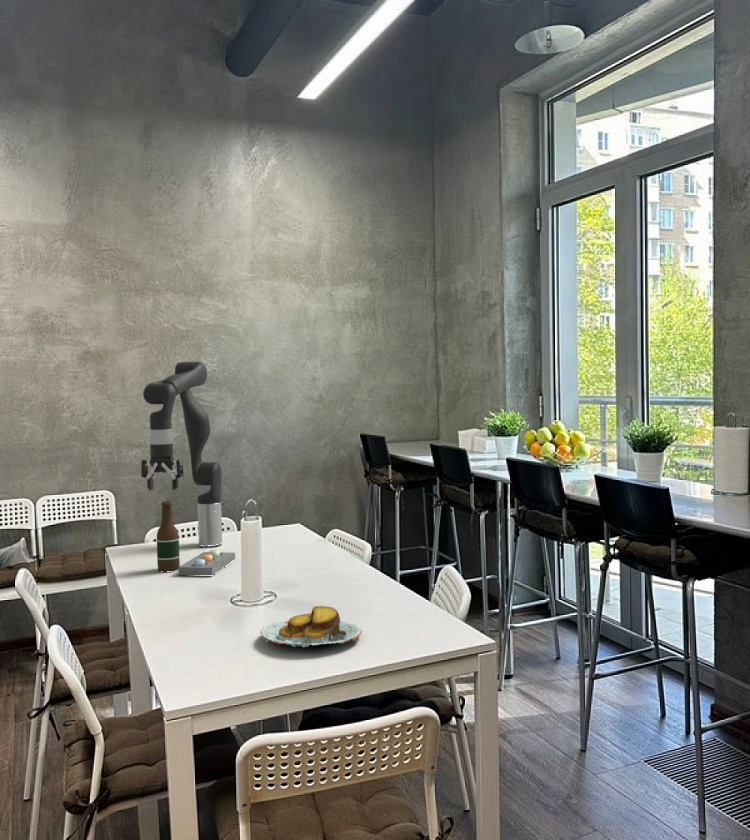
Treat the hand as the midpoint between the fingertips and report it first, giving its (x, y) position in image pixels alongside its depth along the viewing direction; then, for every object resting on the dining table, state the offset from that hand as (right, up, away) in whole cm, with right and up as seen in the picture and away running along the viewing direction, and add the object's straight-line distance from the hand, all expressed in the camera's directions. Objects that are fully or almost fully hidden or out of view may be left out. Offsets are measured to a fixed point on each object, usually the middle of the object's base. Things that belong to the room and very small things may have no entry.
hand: (162, 490), depth 260 cm
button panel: (+13, -28, +8) cm, 32 cm away
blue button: (+12, -27, +1) cm, 30 cm away
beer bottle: (0, -29, +7) cm, 30 cm away
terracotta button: (+13, -27, +8) cm, 31 cm away
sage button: (+15, -26, +15) cm, 34 cm away
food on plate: (+56, -32, -66) cm, 93 cm away
